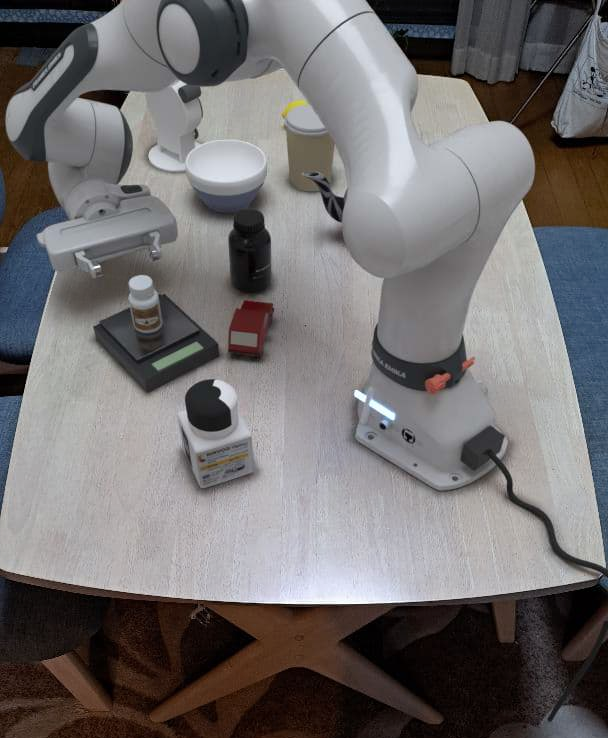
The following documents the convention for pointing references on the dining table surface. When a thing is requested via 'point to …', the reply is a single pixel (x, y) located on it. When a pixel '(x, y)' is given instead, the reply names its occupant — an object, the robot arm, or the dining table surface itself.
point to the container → (215, 433)
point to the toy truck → (249, 328)
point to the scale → (157, 345)
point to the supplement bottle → (250, 252)
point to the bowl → (226, 173)
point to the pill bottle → (144, 305)
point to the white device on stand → (175, 125)
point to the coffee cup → (307, 147)
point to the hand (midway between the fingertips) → (127, 264)
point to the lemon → (291, 106)
